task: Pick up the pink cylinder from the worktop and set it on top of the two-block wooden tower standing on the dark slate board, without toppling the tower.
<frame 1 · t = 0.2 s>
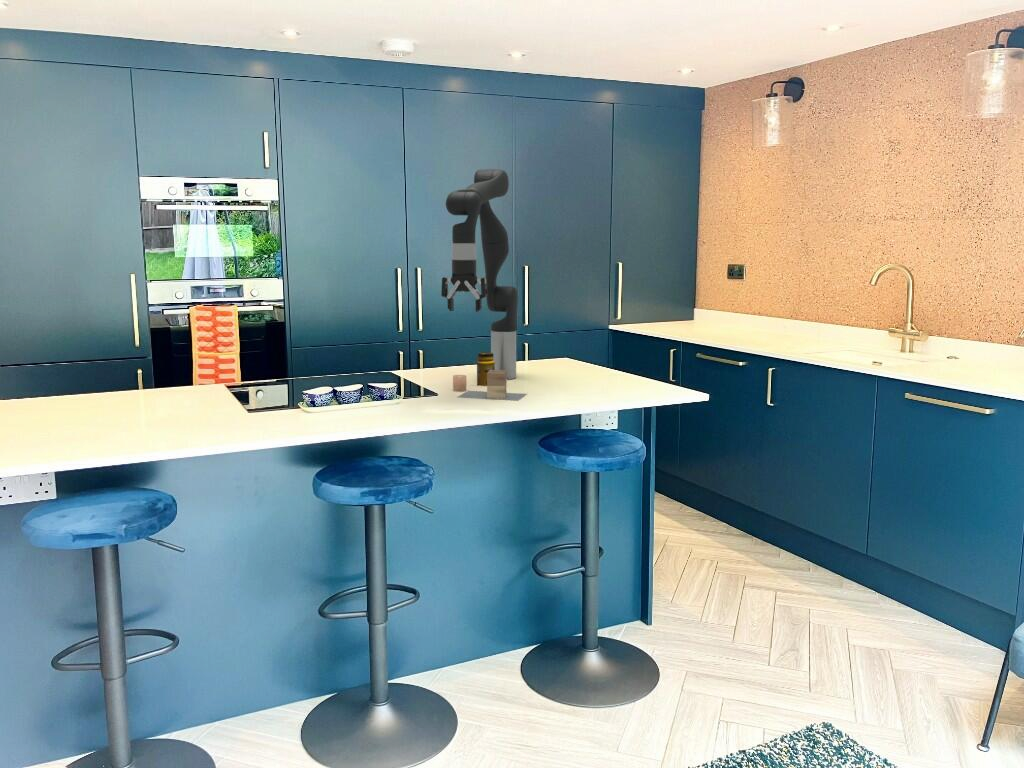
hand: (464, 311, 260), 28 cm above the table, fingers open, 8 cm apart
condiment: (483, 388, 286), on the table
block base: (496, 397, 263), point 1 cm above the table, touching block top, board
board: (492, 399, 265), on the table
block top: (496, 384, 262), point 5 cm above the table, touching block base
pink cylinder: (459, 393, 274), on the table
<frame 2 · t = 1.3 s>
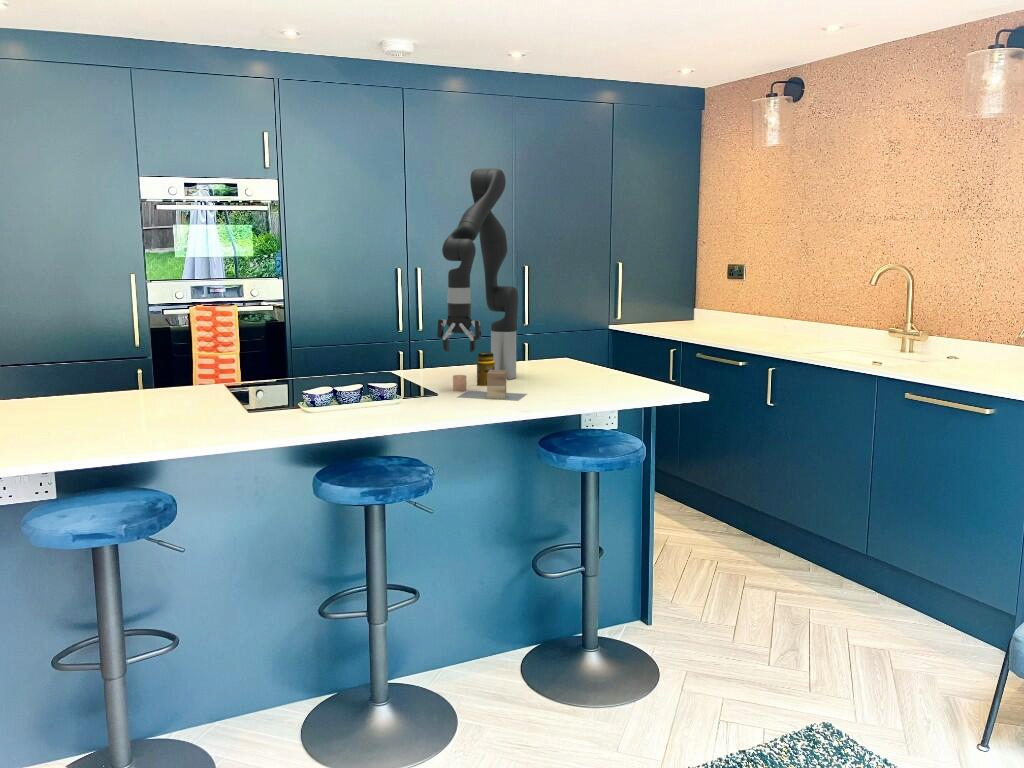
hand: (459, 351, 272), 14 cm above the table, fingers open, 8 cm apart
nothing on the table moved.
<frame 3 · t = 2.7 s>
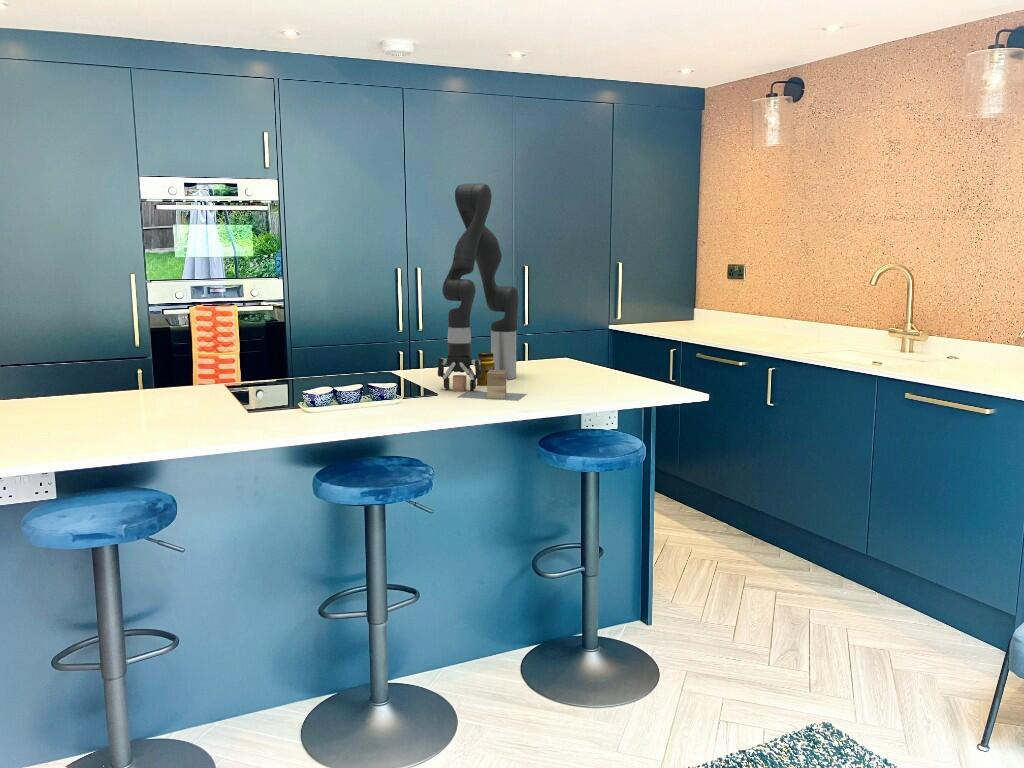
hand: (459, 390, 274), 1 cm above the table, fingers open, 8 cm apart
nothing on the table moved.
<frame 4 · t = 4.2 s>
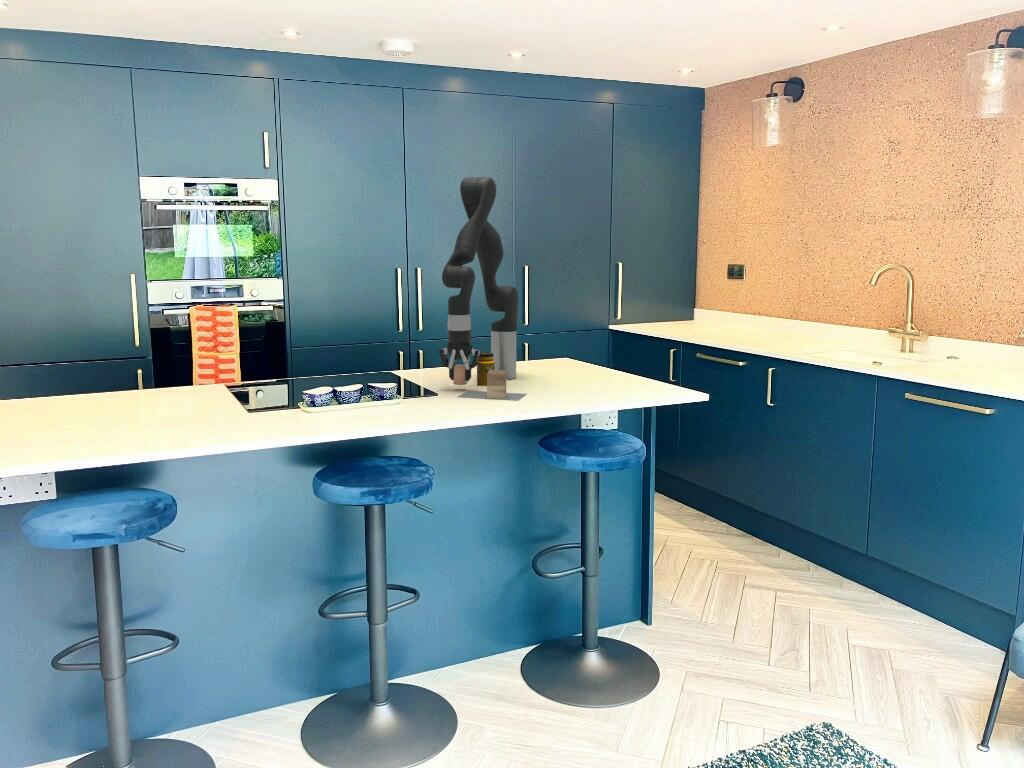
hand: (460, 379, 274), 5 cm above the table, fingers closed on pink cylinder, 4 cm apart
pink cylinder: (460, 383, 274), point 3 cm above the table, touching gripper
everything else where it was.
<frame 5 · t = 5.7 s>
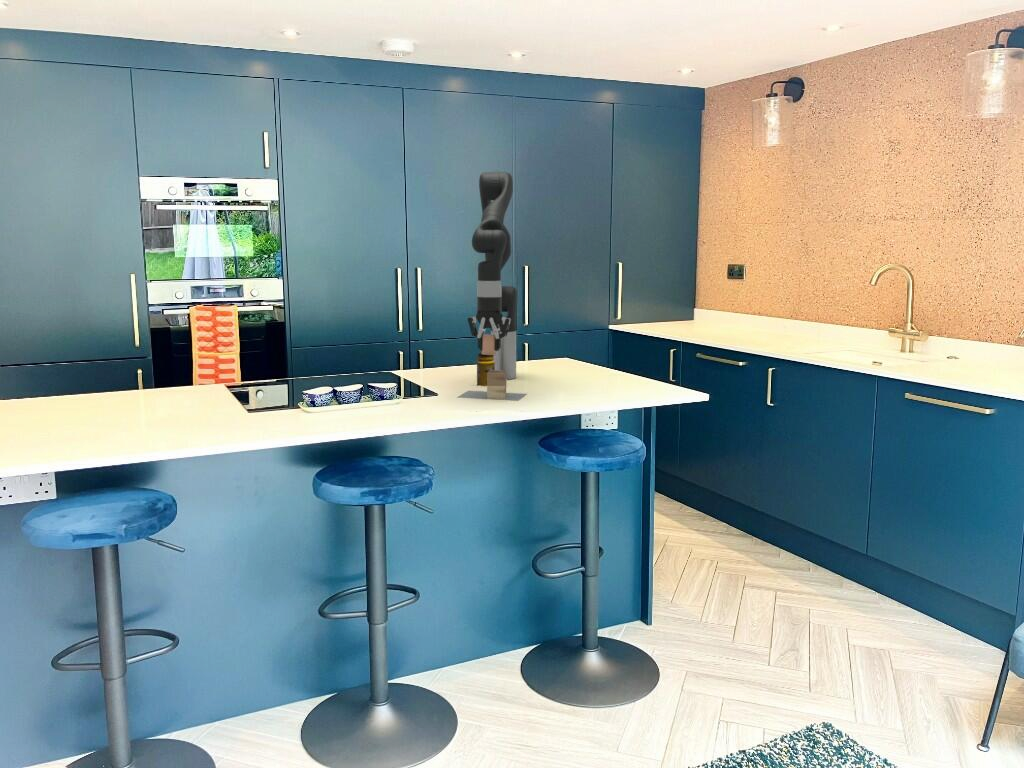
hand: (489, 350, 262), 16 cm above the table, fingers closed on pink cylinder, 4 cm apart
pink cylinder: (489, 354, 262), point 15 cm above the table, touching gripper
everything else where it was.
when the fingers open (11 cm above the table, at t = 7.4 s): pink cylinder stays where it is, resting on block top.
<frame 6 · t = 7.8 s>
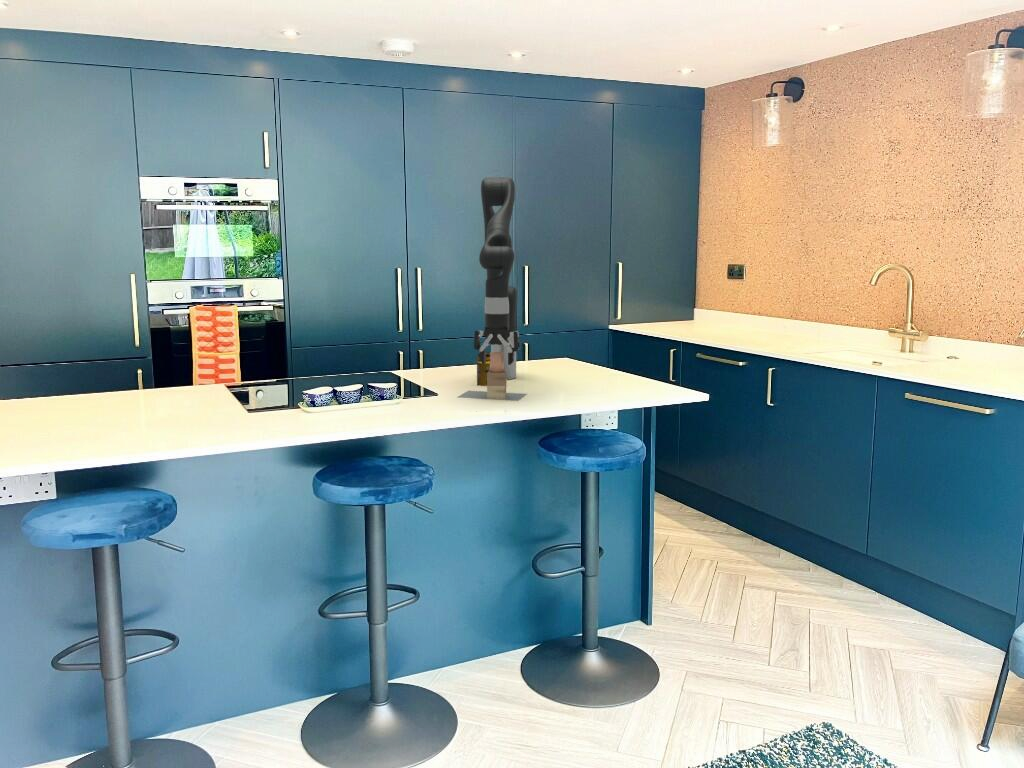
hand: (496, 363, 261), 12 cm above the table, fingers open, 8 cm apart
block top: (496, 384, 262), point 5 cm above the table, touching block base, pink cylinder
pink cylinder: (496, 371, 261), point 9 cm above the table, touching block top
everything else where it was.
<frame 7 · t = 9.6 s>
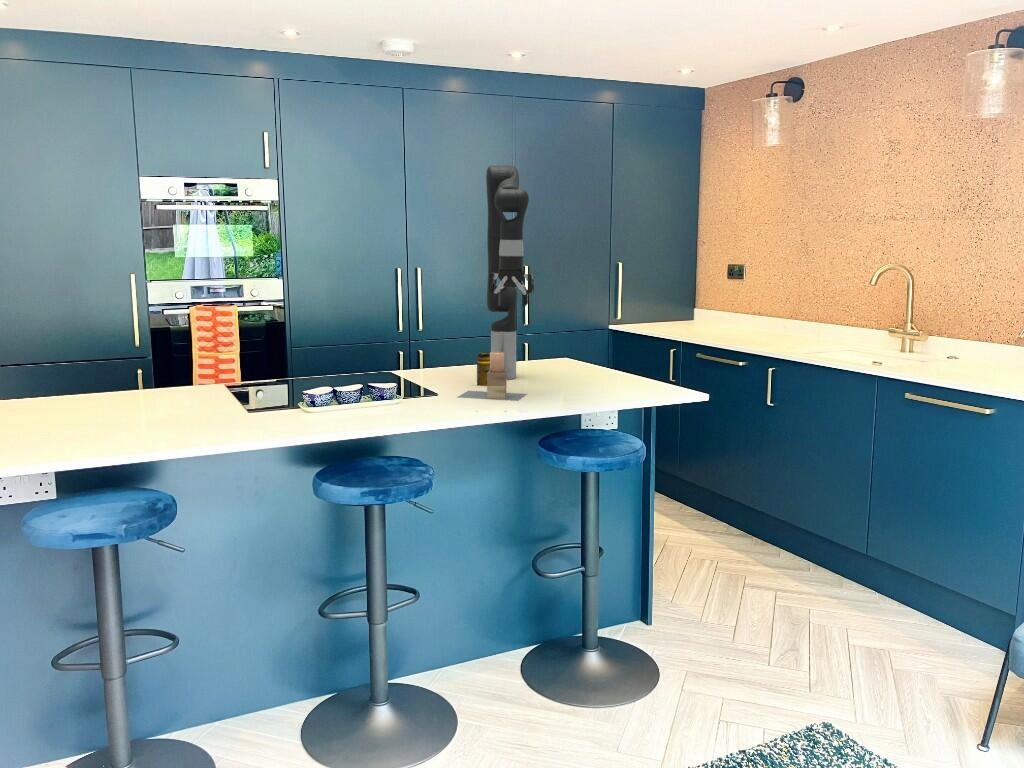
hand: (511, 306, 266), 29 cm above the table, fingers open, 8 cm apart
nothing on the table moved.
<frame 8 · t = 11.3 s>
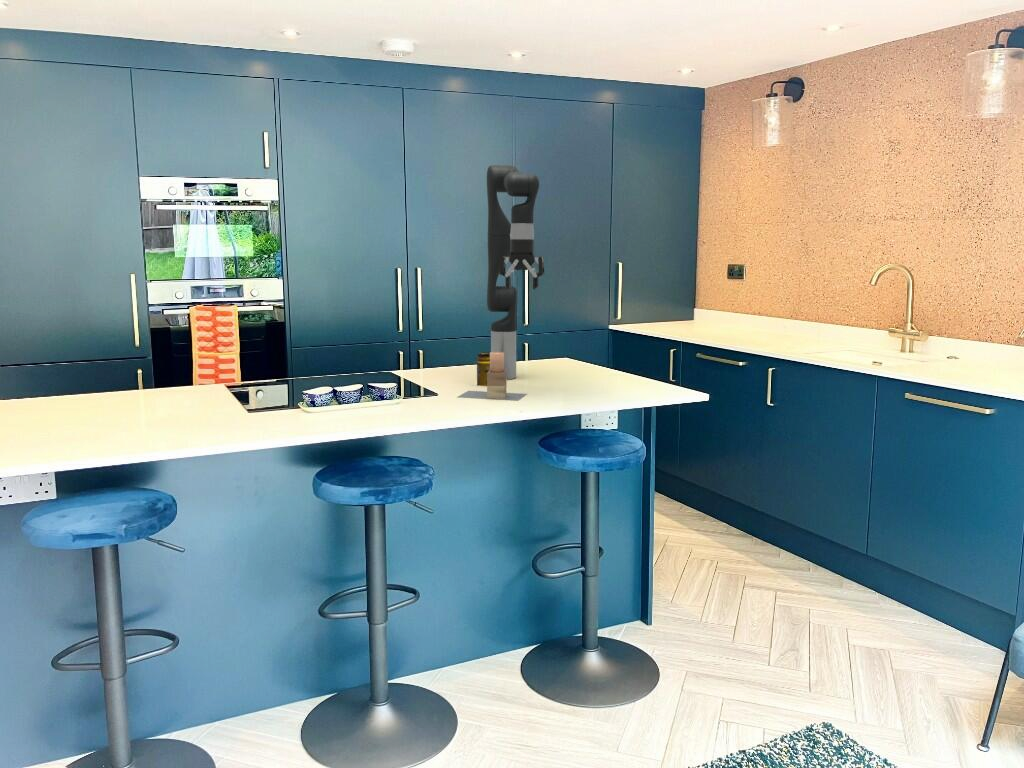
hand: (521, 289, 270), 34 cm above the table, fingers open, 8 cm apart
nothing on the table moved.
at the end: pink cylinder 0.1 cm off-centre on the block top, point 4.0 cm above the block top's base; pink cylinder tilted 0°; block top 0.0 cm off-centre on the block base, point 4.0 cm above the block base's base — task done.
